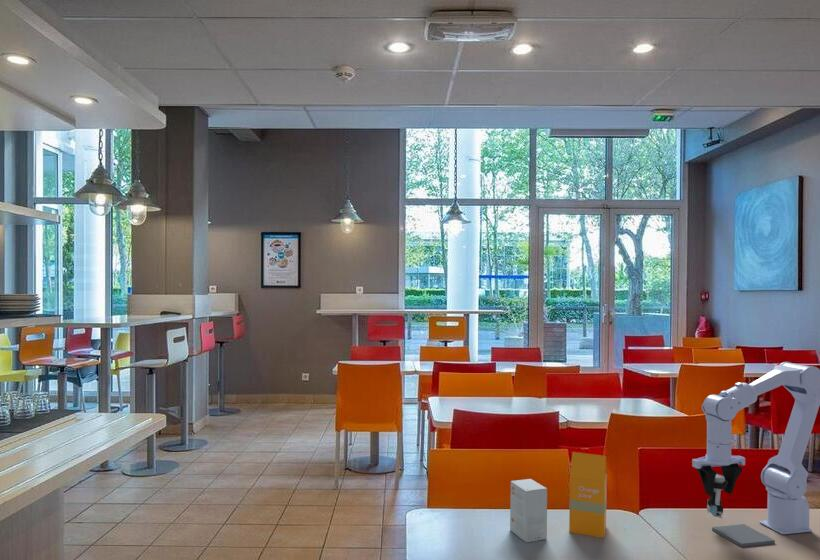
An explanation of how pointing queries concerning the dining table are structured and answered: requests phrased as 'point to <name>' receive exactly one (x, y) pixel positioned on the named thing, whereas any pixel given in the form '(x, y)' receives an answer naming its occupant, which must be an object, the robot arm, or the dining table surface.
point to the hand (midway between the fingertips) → (718, 493)
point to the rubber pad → (743, 535)
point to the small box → (528, 510)
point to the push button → (717, 496)
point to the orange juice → (588, 494)
